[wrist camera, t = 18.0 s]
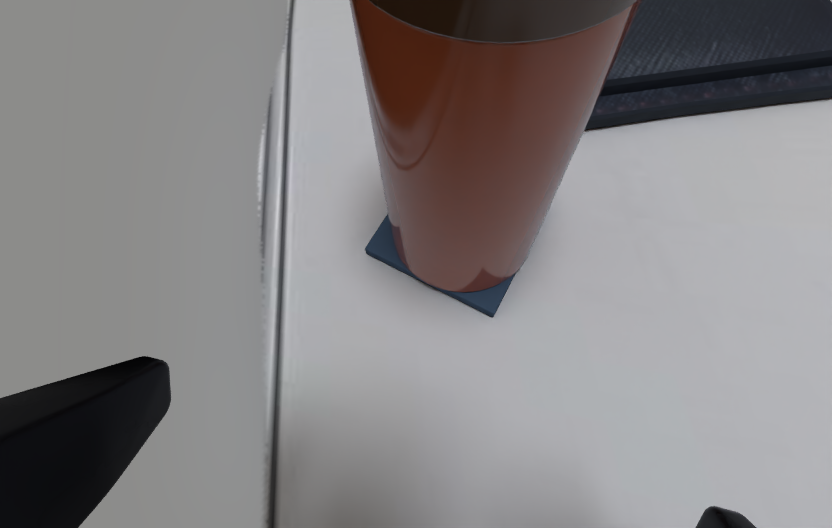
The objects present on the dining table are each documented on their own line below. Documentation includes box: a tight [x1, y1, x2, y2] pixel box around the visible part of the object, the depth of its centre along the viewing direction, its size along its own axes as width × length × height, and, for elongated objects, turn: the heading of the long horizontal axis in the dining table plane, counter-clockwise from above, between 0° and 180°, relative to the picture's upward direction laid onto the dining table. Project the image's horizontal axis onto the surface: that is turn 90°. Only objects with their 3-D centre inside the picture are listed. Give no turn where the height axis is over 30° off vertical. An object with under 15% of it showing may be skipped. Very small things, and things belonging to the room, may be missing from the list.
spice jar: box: [350, 0, 642, 292], centre depth 14 cm, size 6×6×13 cm
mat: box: [365, 214, 516, 317], centre depth 20 cm, size 6×6×1 cm
